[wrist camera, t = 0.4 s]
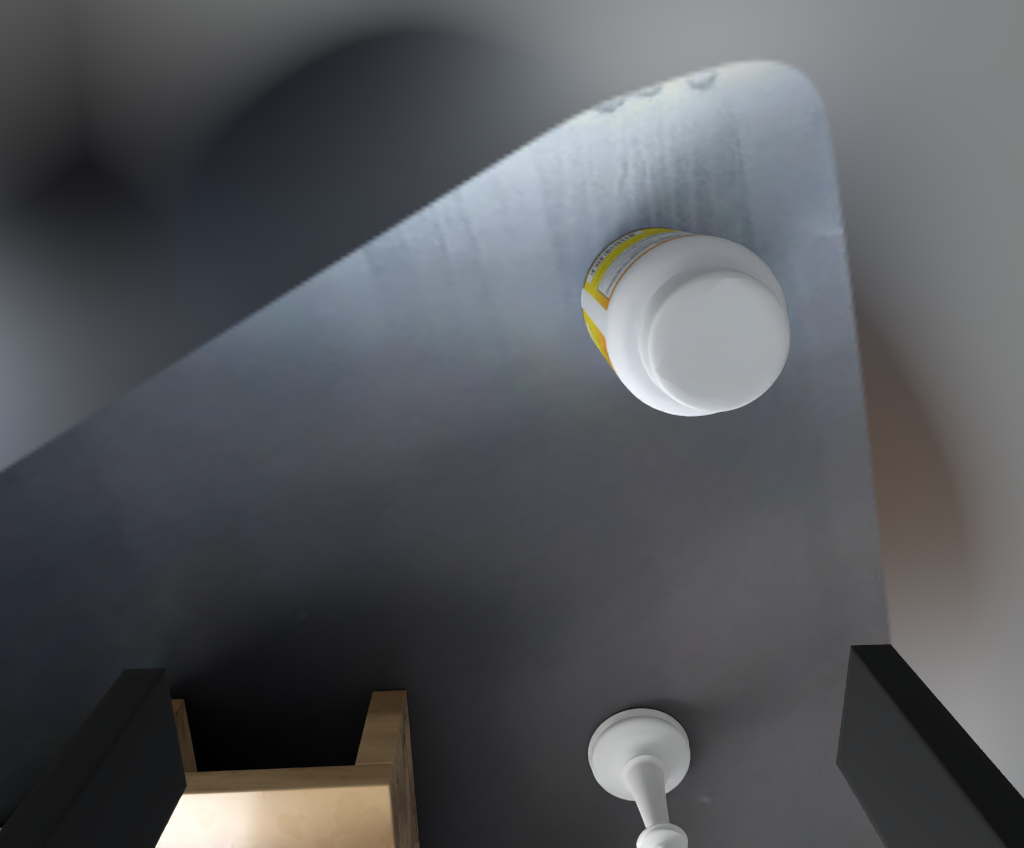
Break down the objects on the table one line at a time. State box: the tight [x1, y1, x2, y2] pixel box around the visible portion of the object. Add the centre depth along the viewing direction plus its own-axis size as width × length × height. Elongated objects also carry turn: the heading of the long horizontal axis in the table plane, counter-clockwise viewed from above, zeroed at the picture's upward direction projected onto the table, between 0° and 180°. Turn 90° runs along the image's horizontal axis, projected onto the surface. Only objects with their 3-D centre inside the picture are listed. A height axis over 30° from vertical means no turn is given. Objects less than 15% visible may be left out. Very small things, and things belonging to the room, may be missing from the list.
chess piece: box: [588, 708, 690, 848], centre depth 32 cm, size 5×5×10 cm
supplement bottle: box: [581, 228, 790, 416], centre depth 26 cm, size 6×6×10 cm
